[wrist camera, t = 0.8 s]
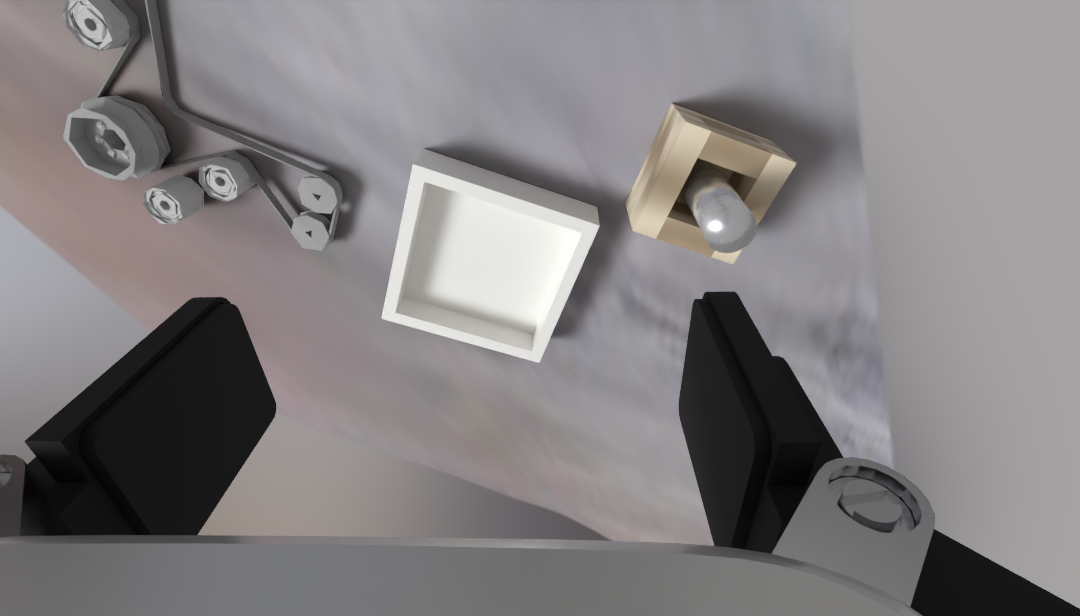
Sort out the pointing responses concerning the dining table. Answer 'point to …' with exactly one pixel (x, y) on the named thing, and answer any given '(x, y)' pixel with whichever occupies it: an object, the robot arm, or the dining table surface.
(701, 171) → the pin
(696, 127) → the tan hollow square block
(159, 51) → the pulley system
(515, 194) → the tray
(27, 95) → the dining table surface
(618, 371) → the dining table surface
